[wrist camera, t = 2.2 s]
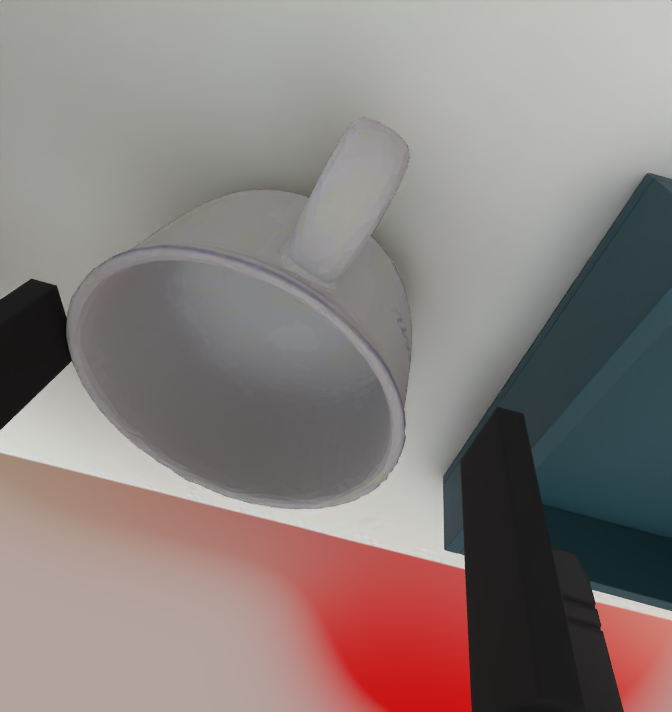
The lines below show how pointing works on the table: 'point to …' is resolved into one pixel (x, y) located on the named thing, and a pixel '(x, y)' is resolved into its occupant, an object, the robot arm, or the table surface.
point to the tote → (603, 409)
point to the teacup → (261, 336)
